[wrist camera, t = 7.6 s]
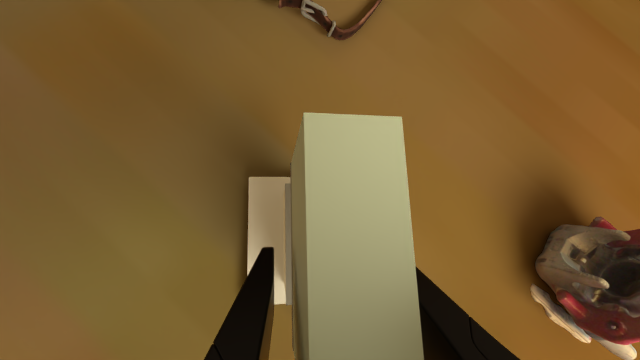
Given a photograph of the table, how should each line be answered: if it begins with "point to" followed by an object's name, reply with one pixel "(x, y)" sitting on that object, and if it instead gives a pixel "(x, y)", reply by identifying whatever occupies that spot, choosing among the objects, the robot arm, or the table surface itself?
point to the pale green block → (352, 241)
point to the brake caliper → (593, 284)
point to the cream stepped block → (271, 229)
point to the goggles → (325, 17)
